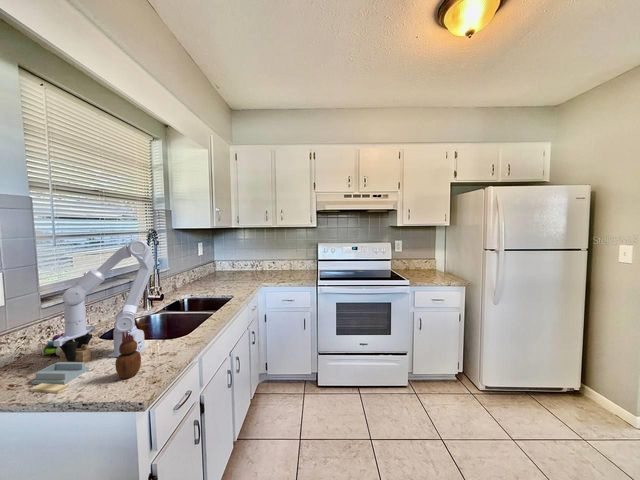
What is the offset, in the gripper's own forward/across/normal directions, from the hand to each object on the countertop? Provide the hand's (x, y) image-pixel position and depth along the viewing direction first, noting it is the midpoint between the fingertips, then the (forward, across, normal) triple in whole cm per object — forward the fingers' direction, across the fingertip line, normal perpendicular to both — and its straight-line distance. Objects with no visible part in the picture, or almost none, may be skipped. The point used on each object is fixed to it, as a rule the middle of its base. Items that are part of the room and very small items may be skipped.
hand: (76, 358), depth 100 cm
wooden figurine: (+2, +9, +25) cm, 27 cm away
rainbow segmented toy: (+2, -8, -13) cm, 15 cm away
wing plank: (+2, +17, +7) cm, 18 cm away
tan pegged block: (+2, 0, 0) cm, 2 cm away
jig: (+1, +10, +4) cm, 11 cm away
